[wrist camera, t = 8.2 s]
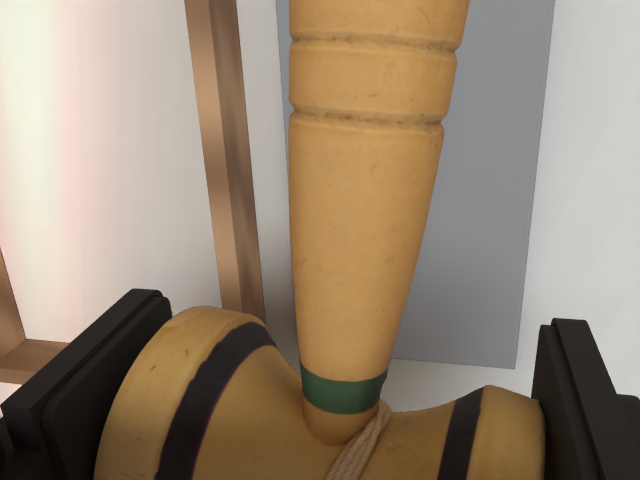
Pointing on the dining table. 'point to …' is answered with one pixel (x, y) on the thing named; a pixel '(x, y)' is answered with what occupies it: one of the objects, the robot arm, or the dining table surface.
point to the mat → (475, 188)
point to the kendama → (330, 289)
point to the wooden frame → (222, 180)
